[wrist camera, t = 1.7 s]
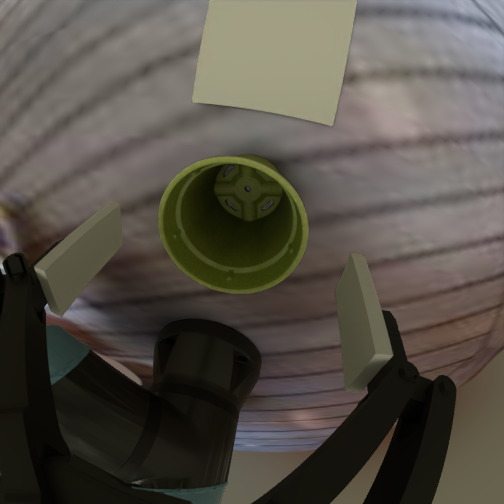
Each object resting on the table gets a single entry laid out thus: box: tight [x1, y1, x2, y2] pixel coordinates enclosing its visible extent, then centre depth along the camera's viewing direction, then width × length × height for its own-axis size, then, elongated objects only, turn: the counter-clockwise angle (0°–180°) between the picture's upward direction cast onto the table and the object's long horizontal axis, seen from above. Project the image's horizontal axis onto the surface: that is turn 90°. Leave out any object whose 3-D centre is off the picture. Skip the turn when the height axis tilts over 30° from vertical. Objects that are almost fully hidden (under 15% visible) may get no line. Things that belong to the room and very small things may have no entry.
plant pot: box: [158, 155, 309, 294], centre depth 20 cm, size 9×9×9 cm
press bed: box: [192, 0, 357, 126], centre depth 16 cm, size 12×11×2 cm
